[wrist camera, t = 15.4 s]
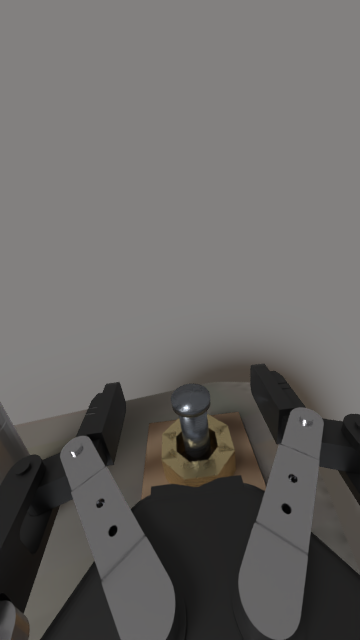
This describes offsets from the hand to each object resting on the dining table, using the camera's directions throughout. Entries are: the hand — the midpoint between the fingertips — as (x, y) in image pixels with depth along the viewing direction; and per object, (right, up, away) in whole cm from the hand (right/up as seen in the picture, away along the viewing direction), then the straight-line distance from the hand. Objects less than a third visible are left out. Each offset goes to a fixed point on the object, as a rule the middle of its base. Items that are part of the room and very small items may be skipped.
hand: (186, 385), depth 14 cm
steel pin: (+2, -16, +19) cm, 25 cm away
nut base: (+2, -17, +19) cm, 26 cm away
